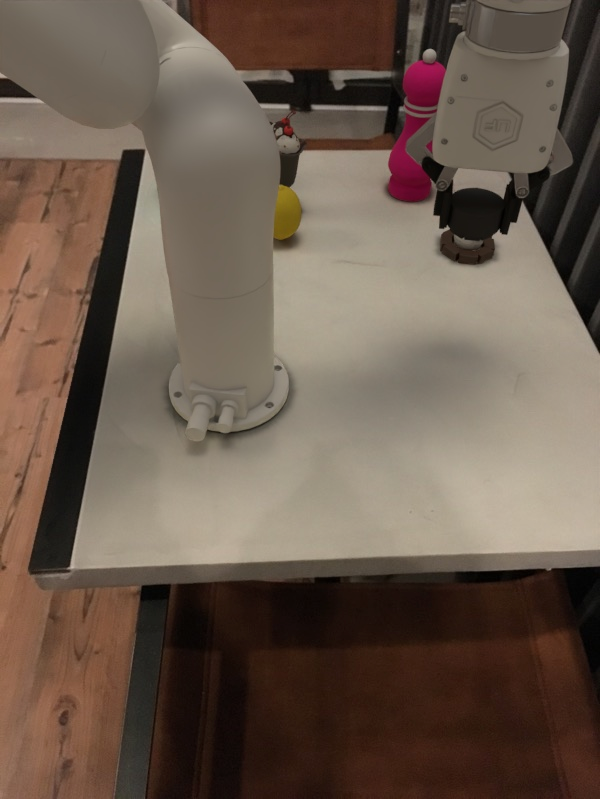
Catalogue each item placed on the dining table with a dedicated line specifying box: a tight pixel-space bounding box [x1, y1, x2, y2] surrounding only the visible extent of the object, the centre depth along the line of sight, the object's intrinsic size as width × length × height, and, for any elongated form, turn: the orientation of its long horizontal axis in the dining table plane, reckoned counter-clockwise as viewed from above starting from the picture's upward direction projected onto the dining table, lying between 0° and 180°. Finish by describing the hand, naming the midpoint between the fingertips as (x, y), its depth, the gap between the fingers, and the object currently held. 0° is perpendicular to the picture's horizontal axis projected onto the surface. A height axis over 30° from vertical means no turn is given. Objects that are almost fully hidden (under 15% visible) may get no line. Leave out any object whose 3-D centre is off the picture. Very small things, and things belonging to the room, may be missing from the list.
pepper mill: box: [387, 48, 447, 203], centre depth 95 cm, size 7×7×20 cm
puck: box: [447, 187, 505, 241], centre depth 66 cm, size 5×5×3 cm
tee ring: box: [439, 228, 496, 265], centre depth 92 cm, size 7×7×1 cm
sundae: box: [269, 109, 308, 189], centre depth 92 cm, size 7×7×15 cm
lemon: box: [273, 185, 302, 241], centre depth 90 cm, size 6×6×8 cm
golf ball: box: [454, 234, 484, 251], centre depth 91 cm, size 4×4×4 cm
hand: (473, 222), depth 67 cm, fingers closed on puck, 5 cm apart
